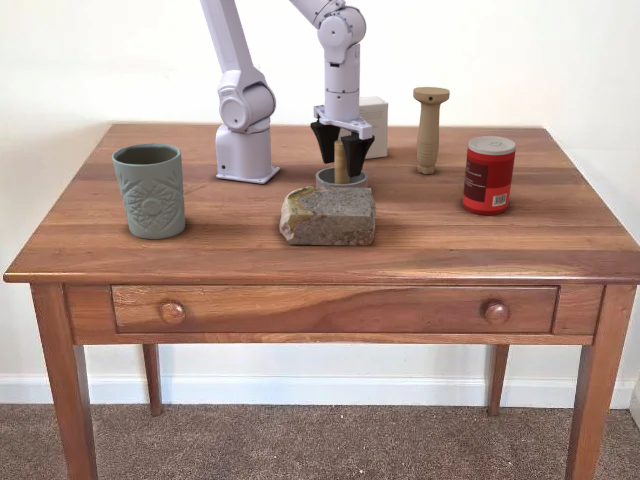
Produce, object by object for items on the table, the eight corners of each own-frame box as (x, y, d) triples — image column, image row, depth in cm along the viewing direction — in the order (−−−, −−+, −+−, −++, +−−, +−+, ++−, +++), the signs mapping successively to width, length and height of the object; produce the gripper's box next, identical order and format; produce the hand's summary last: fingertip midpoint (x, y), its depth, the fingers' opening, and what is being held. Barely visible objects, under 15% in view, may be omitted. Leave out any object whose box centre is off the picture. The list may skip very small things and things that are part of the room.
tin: (308, 197, 128) (308, 181, 126) (325, 179, 135) (325, 164, 134) (358, 204, 126) (359, 187, 124) (373, 185, 133) (373, 169, 132)
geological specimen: (380, 215, 110) (278, 210, 108) (376, 251, 113) (277, 248, 112) (374, 186, 119) (280, 181, 117) (371, 220, 122) (279, 217, 121)
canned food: (511, 201, 128) (519, 138, 122) (503, 219, 122) (511, 153, 116) (467, 195, 130) (473, 133, 124) (457, 212, 124) (463, 147, 118)
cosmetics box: (375, 146, 151) (377, 94, 145) (387, 157, 146) (389, 103, 140) (326, 152, 148) (326, 98, 142) (337, 162, 143) (337, 107, 137)
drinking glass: (156, 247, 111) (145, 169, 104) (109, 231, 115) (96, 155, 109) (203, 223, 118) (195, 150, 112) (156, 209, 123) (146, 138, 116)
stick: (340, 193, 129) (340, 145, 124) (331, 188, 130) (331, 141, 126) (352, 190, 130) (352, 142, 125) (343, 185, 132) (344, 138, 127)
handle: (442, 177, 137) (449, 95, 129) (408, 175, 138) (412, 93, 130) (443, 168, 141) (450, 88, 133) (409, 166, 142) (414, 86, 134)
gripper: (297, 82, 124) (299, 161, 131) (347, 102, 114) (346, 186, 121) (332, 76, 127) (332, 153, 135) (383, 96, 118) (381, 178, 125)
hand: (341, 169), depth 128 cm, fingers open, 7 cm apart
